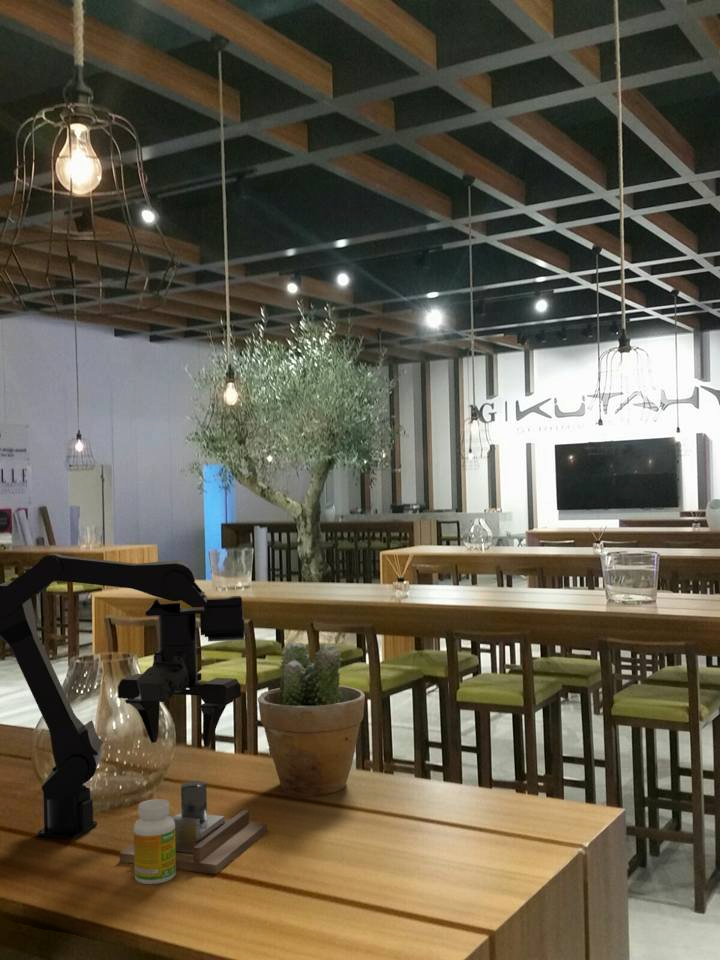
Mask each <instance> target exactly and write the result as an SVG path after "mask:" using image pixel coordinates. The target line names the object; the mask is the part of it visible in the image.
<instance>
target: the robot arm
mask: <svg viewBox="0 0 720 960" xmlns="http://www.w3.org/2000/svg"><path fill="white" fill-rule="evenodd" d="M53 582H69V583H75V584H76V583H77V584H85V585H95V586H106V587H113V588H124V589H132V590H136V591H139V592H142V593H144V594H147V595H149V596H152V597H157V598H155V599H154V601H153V603H152V604H151V605H150V606H149V607H148V608H146V610H145V613H144V614H145V616H146V617H154V616H158V617H157V618H158V620H157V621H158V629H157V630H158V651H154V654H153V662H152V665H151V666H150V667H148V668H147V669H145V671H144V672H143V673H135V674H132V675H130V676H126V677H123V678H121V679H120V681H119V682H118V685H117V686H116V687H117V689H116V690H117V698H118V699H124V701H125V703H126V704H127V705H131V706H132V707H133V708H134V709H136V711H137V712H138V714H139V716H140V718H141V720H142V722H143V725H144V728H145V730H146V733H147V735H148V738H149V740H150V742H151V744H154V743H156V742H157V741H158V736H159V728H160V727H159V726H160V708H161V707H160V705H161V703H165V702H168V701H169V700H170V699H171V698H172V696H173V695H185V696H197V697H198V696H199V697H200V699H201V700H202V701H203V703H202V704H200V705H198V707H199V709H200V711H201V713H202V741H203V742H202V743H203V747H204V748H208V747H209V746H210V744H211V742H212V739H213V738H214V734H215V732H216V729H217V726H218V724H219V721H220V719H221V716H222V714H223V713H224V711H225V709H226V707H227V705H229V704H231V703H233V702H234V700H237V699H238V698H240V697H241V696H242V687H241V684H240V682H239V681H238V679H237V678H231V677H230V678H229V677H215V678H213V679H210V680H208V681H206V682H203V683H201V682H199V681H202V673H201V672H198V655H201V653H202V647H201V646H197V616H196V615H197V614H198V615H199V617H200V619H199V622H200V623H199V624H200V636H204V638H207V641H208V642H224V641H225V642H228V641H229V642H230V641H244V640H245V619H244V614H243V600H242V599H243V598H242V596H241V595H233V596H229V597H214V598H213V597H211V598H208V597H207V594H205V591H203V590H202V589H201V588H200V586H199V585H198V584H197V583H196V574H195V571H194V569H193V568H192V567H191V565H190V564H188V562H186V561H182V560H164V561H163V560H162V561H161V560H160V561H153V562H150V561H149V562H139V563H134V562H127V561H126V562H125V561H123V562H122V561H115V560H106V559H97V558H88V557H81V556H80V557H78V556H68V555H63V554H61V553H58V552H57V553H56V552H55V553H50V554H47V555H45V556H43V557H42V558H41V559H39V561H38V562H37V563H36V564H35V565H33V566H32V567H31V568H29V569H28V570H26V571H25V572H24V573H22V574H21V575H20V576H18V577H16V578H15V579H14V580H12V581H7V582H3V583H0V638H1V639H2V640H3V641H4V642H5V643H6V644H7V645H8V646H9V648H10V649H11V651H12V654H13V655H14V658H15V660H16V662H17V665H18V666H19V668H20V671H21V673H22V676H23V677H24V680H25V682H26V684H27V686H28V688H29V691H30V693H31V694H32V696H33V699H34V700H35V703H36V705H37V707H38V709H39V712H40V714H41V716H42V718H43V720H44V722H45V724H46V726H47V729H48V731H49V738H50V743H51V744H50V745H51V751H52V757H53V761H54V764H55V765H54V767H52V769H51V770H50V772H49V774H48V775H47V777H46V779H45V780H44V782H43V784H42V785H41V790H42V797H43V798H42V799H43V803H42V804H43V828H41V829H40V830H38V831H36V832H37V833H36V834H37V835H36V836H41V837H50V838H56V839H58V838H59V839H65V840H73V839H76V838H78V837H79V836H81V835H83V834H84V833H86V832H89V831H90V830H91V829H93V828H95V827H97V825H98V821H96V820H94V814H93V813H94V804H93V801H94V800H93V798H91V788H90V787H86V785H84V784H87V782H89V781H90V780H92V778H93V777H94V775H95V774H96V771H97V769H98V767H99V764H100V761H101V759H102V746H103V744H104V742H103V740H102V739H100V737H99V735H98V734H97V732H96V728H95V724H94V722H93V720H89V721H88V722H87V723H85V724H84V723H83V722H82V721H81V720H80V719H79V718H78V717H77V716H76V714H75V712H74V710H73V708H72V706H71V704H70V701H69V700H68V697H67V695H66V692H65V690H64V688H63V686H62V683H61V682H60V680H59V678H58V676H57V673H56V671H55V669H54V667H53V665H52V663H51V661H50V658H49V656H48V654H47V652H46V650H45V647H44V645H43V643H42V641H41V639H40V637H39V634H38V630H37V629H38V628H37V622H36V614H35V611H34V606H33V602H32V599H33V598H34V597H36V596H38V595H39V594H40V593H41V592H42V591H44V590H45V589H47V588H48V587H49V586H50V585H51V584H53ZM159 598H160V599H164V600H167V601H172V602H169V603H167V602H165V603H163V602H161V601H160V600H159ZM180 601H181V602H183V603H185V604H186V605H188V606H190V607H191V608H189V607H188V608H187V607H182V603H181V602H180Z"/></svg>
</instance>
